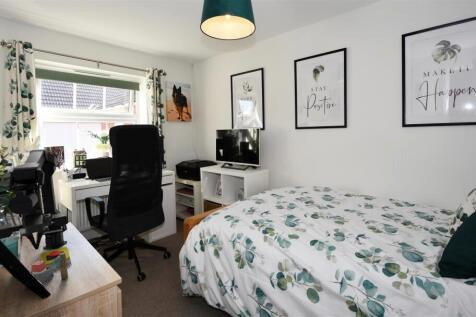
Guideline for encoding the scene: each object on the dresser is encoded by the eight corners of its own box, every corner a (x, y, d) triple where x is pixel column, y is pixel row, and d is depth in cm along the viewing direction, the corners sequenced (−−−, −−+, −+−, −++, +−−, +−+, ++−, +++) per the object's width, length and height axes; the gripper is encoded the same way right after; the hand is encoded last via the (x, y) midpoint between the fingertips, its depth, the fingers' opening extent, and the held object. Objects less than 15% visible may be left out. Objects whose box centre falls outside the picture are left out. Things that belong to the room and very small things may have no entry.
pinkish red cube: (38, 268, 91) (37, 259, 91) (49, 269, 91) (48, 259, 90) (29, 275, 88) (28, 265, 87) (40, 275, 87) (39, 265, 87)
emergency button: (40, 264, 93) (38, 248, 104) (41, 275, 93) (40, 258, 105) (71, 255, 98) (66, 241, 110) (72, 266, 99) (67, 251, 111)
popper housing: (39, 275, 92) (38, 266, 92) (53, 276, 92) (52, 266, 92) (26, 284, 87) (25, 274, 87) (41, 285, 87) (40, 275, 86)
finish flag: (64, 276, 92) (61, 252, 90) (69, 276, 92) (66, 252, 90) (52, 286, 86) (49, 260, 85) (58, 286, 86) (55, 261, 85)
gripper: (-9, 218, 74) (-1, 269, 76) (68, 204, 86) (73, 248, 88) (-8, 208, 82) (-1, 255, 84) (63, 196, 94) (67, 237, 97)
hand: (36, 249), depth 88 cm, fingers closed
